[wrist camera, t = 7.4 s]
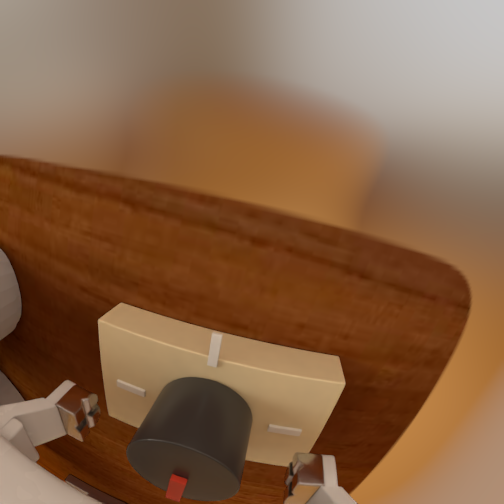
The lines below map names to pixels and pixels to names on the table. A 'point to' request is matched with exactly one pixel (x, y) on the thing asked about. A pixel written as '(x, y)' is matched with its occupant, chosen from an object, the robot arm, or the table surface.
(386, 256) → the table surface
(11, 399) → the mug
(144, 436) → the knob
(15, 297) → the coffee cup
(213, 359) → the dial panel
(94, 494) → the lever bracket
